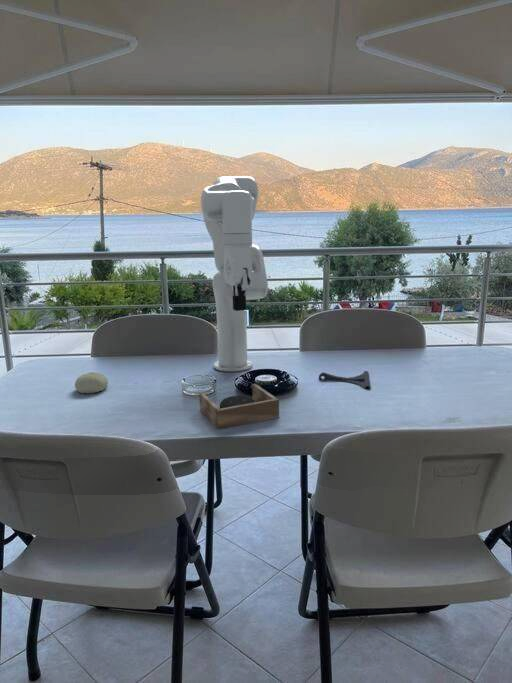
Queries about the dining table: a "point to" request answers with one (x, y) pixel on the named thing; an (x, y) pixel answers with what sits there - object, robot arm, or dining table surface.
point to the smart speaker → (235, 401)
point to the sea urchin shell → (91, 383)
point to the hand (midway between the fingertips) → (239, 309)
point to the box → (241, 409)
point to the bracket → (349, 379)
